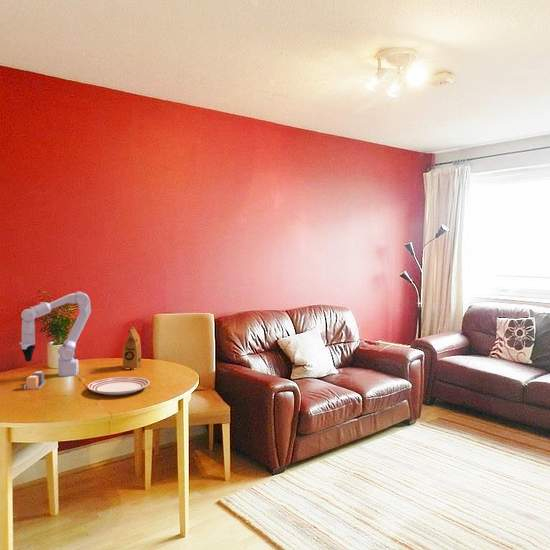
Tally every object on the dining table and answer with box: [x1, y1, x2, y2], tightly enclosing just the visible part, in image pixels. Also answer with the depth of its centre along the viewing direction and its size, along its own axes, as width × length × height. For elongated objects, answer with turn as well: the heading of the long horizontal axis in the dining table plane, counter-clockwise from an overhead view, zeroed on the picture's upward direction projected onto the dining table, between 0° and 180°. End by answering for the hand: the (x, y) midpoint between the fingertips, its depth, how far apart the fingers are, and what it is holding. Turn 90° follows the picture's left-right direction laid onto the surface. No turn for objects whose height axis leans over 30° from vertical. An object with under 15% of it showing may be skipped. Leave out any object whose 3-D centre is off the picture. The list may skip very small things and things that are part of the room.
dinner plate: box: [87, 376, 150, 396], centre depth 221 cm, size 28×27×3 cm
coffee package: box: [122, 326, 142, 370], centre depth 262 cm, size 10×12×22 cm
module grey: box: [31, 370, 45, 384], centre depth 224 cm, size 4×4×5 cm
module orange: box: [25, 375, 38, 390], centre depth 216 cm, size 4×4×5 cm
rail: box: [23, 379, 47, 391], centre depth 220 cm, size 6×12×3 cm, turn 12°
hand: (28, 361), depth 231 cm, fingers closed
